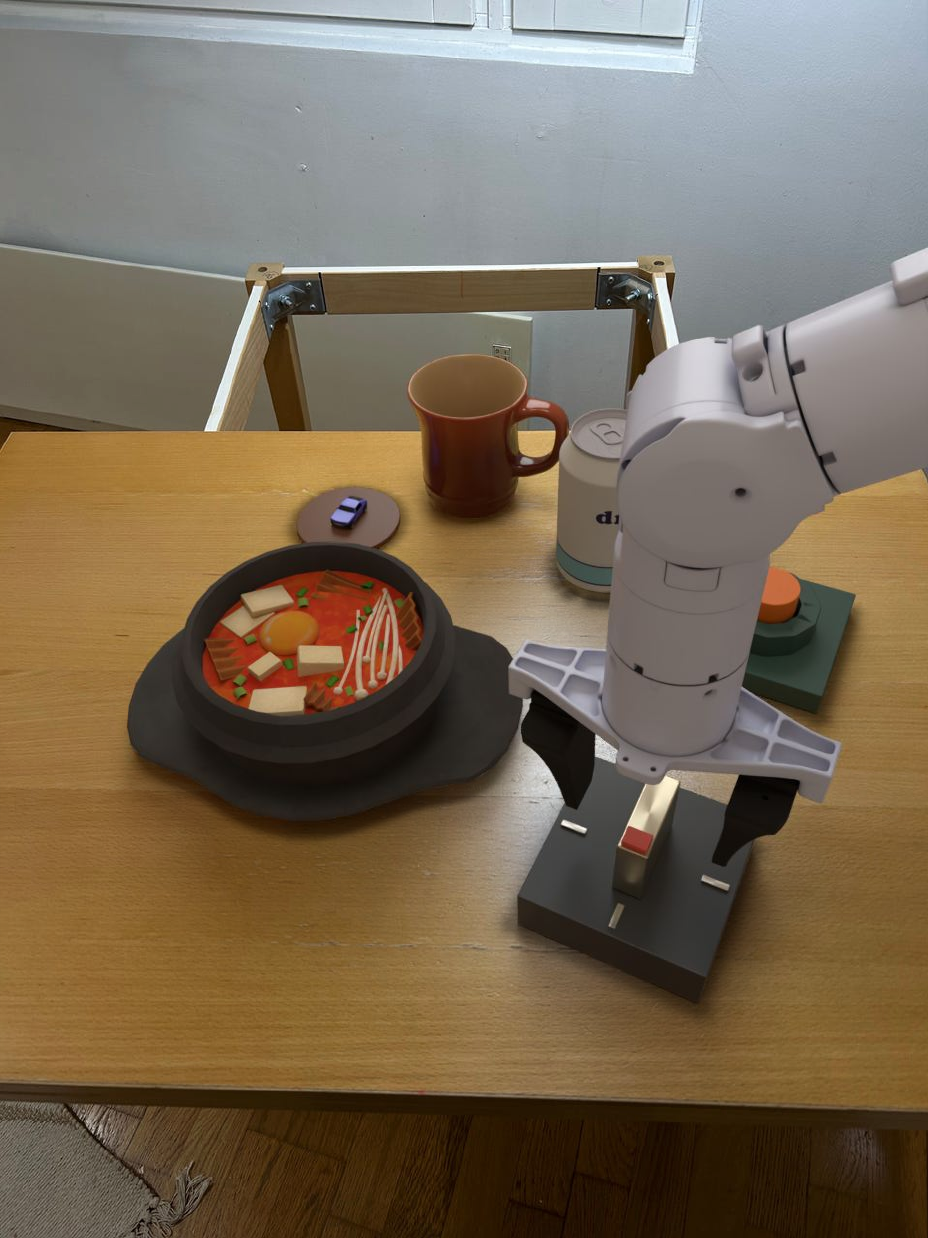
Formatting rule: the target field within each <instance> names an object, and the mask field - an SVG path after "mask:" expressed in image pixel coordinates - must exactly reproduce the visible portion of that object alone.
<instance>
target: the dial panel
mask: <svg viewBox="0 0 928 1238" xmlns="http://www.w3.org/2000/svg"><path fill="white" fill-rule="evenodd" d="M644 785H645V783H642V782H640V781H637V780H634V779H631V778H629V777H626V776H623V775H621V774H620V773H618V772H617V770H616V768H615V762H612V761H609V760H607V759H604V758H601V757H599V756H596V755H595V766H594V772H593V777H592V781H591V783H590V785H589V787H588V789H587V791H586V793H585V795H584V797H583V799H582V801H581V803H580V805H579V807H578V809H577V810H575V809H573V808H570V807H567V806H566V804H565V802H564V803H563V805H562V807H561V809H560V811H559V813H558V815H557V817H556V819H555V821H554V823H553V825H552V826H551V828H550V831H549V833H548V835H547V837H546V839H545V840H544V842H543V844H542V846H541V849H540V850H539V852H538V854H537V856H536V857H535V860H534V862H533V864H532V866H531V868H530V870H529V872H528V874H527V876H526V878H525V880H524V881H523V883H522V885H521V887H520V889H519V891H518V893H517V897H516V898H517V899H516V900H517V901H516V902H517V903H516V904H517V905H516V906H517V907H516V909H517V910H516V912H517V913H516V914H517V916H516V917H517V924H518V925H520V926H522V927H525V928H526V929H529V930H531V931H533V932H535V933H537V934H539V935H542V936H544V937H546V938H549V939H551V940H553V941H556V942H557V943H560V944H562V945H564V946H567V947H569V948H572V949H574V950H576V951H578V952H581V953H583V954H584V955H587V956H589V957H592V958H593V959H594V958H595V959H596V960H599V961H600V962H603V963H606V964H607V965H610V966H612V967H614V968H616V969H619V970H621V971H624V972H626V973H627V974H630V975H632V976H635V977H637V978H639V979H642V980H644V981H646V982H648V983H650V984H653V985H655V986H657V987H660V988H661V989H664V990H666V991H668V992H670V993H673V994H675V995H678V996H679V997H682V998H684V999H687V1000H689V1001H691V1002H694V1003H695V1004H699V1003H700V1001H701V999H702V995H703V993H704V990H705V987H706V984H707V981H708V978H709V976H710V973H711V970H712V966H713V964H714V961H715V958H716V955H717V952H718V950H719V947H720V943H721V941H722V938H723V934H724V932H725V930H726V928H727V927H726V926H727V923H728V921H729V918H730V915H731V912H732V909H733V906H734V903H735V900H736V897H737V894H738V892H739V888H740V885H741V883H742V879H743V877H744V874H745V871H746V868H747V865H748V864H749V860H750V857H751V854H752V851H753V848H754V845H755V841H756V839H754V840H752V841H750V842H749V843H747V844H746V845H744V846H743V847H742V848H741V849H739V850H738V851H737V852H736V853H735V854H734V855H733V856H732V857H731V859H730V860H729V861H728V863H727V866H725V867H722V866H720V865H717V864H714V863H712V857H713V854H714V851H715V848H716V846H717V843H718V840H719V838H720V835H721V832H722V830H723V826H724V818H725V816H724V815H725V811H726V808H727V805H728V804H726V803H724V802H721V801H718V800H715V799H713V798H710V797H708V796H704V795H702V794H699V793H696V792H694V791H691V790H688V789H685V788H683V787H680V788H679V793H678V798H677V803H676V808H675V814H674V819H673V824H672V826H671V829H670V831H669V834H668V836H667V838H666V841H665V843H664V845H663V848H662V850H661V853H660V855H659V857H658V860H657V862H656V864H655V867H654V869H653V872H652V874H651V876H650V879H649V881H648V884H647V886H646V888H645V891H644V893H643V895H642V898H641V899H639V898H637V897H634V896H632V895H629V894H627V893H625V892H622V891H620V890H617V889H615V888H613V887H612V881H613V873H614V865H615V857H616V849H617V844H618V842H619V840H620V838H621V835H622V833H623V831H624V829H625V827H626V825H627V822H628V820H629V818H630V816H631V814H632V811H633V809H634V807H635V805H636V803H637V800H638V798H639V796H640V794H641V792H642V789H643V787H644Z"/></svg>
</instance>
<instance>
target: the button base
mask: <svg viewBox="0 0 928 1238" xmlns="http://www.w3.org/2000/svg"><path fill="white" fill-rule="evenodd" d="M787 572H788V573H790V574H792V575H793V576H794V577H795V578H796V579H797V581H798V582H799V584H800V588H801V592H800V596H799V599H798V603H797V606H796V610H795V613H794V615H793V616H792V617H791V618H790V619H788V620H787V621H785V622H782V623H775V624H767V623H763V622H760V621H757V622H756V626H755V631H754V635H753V639H752V643H751V648H750V653H749V657H748V661H747V666H746V670H745V674H744V678H743V683H742V687H743V688H745V689H746V690H748V691H749V692H751V693H752V694H754V695H756V696H757V695H758V696H761V697H764V698H767V699H771V700H773V701H777V702H779V703H782V704H786V705H788V706H791V707H794V708H797V709H801V710H804V711H807V712H810V713H812V714H818V711H819V709H820V705H821V702H822V699H823V697H824V693H825V690H826V687H827V684H828V681H829V678H830V676H831V672H832V669H833V666H834V663H835V660H836V657H837V654H838V651H839V648H840V645H841V642H842V639H843V635H844V633H845V629H846V626H847V623H848V621H849V617H850V615H851V611H852V608H853V606H854V602H855V600H856V596H857V594H856V593H853V592H849V591H845V590H843V589H839V588H835V587H831V586H828V585H824V584H821V583H818V582H813V581H809V580H806V579H803V578H800V577H799V576H797V575H796V574H795V573H792V572H789V571H787Z"/></svg>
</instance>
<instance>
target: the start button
mask: <svg viewBox="0 0 928 1238" xmlns="http://www.w3.org/2000/svg"><path fill="white" fill-rule="evenodd" d="M788 572H789V571H786V570H784V569H781V568H778V567H772V566H770V567H769V571H768V576H767V580H766V584H765V588H764V592H763V597H762V601H761V605H760V609H759V614H758V618H757V621H760V622H763V623H767V624H775V623H782V622H785V621H787V620H788V619H790V618H791V617H792V616H793V615H794V613H795V610H796V606H797V603H798V599H799V596H800V592H801V588H800V584H799V582H798V581H797V579H796V578H795V577H794V576H793V575H792V574H790V573H791V572H789V573H788Z"/></svg>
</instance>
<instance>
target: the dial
mask: <svg viewBox="0 0 928 1238" xmlns="http://www.w3.org/2000/svg"><path fill="white" fill-rule="evenodd" d="M679 788H681V781H680V780H679V779H676V778H673V777H671V776H669V775H665V777H664V779H663V780H662V781H661V783H660V784H657V785H648V784H645V785H644V787H643V789H642V792H641V794H640V796H639V798H638V800H637V803H636V805H635V807H634V809H633V811H632V814H631V816H630V818H629V820H628V822H627V825H626V827H625V829H624V831H623V833H622V835H621V838H620V840H619V842H618V844H617V849H616V857H615V865H614V873H613V881H612V887H613V888H615V889H617V890H620V891H622V892H625V893H627V894H629V895H632V896H634V897H637V898H639V899H641V898H642V895H643V893H644V891H645V888H646V886H647V884H648V881H649V879H650V876H651V874H652V872H653V869H654V867H655V864H656V862H657V860H658V857H659V855H660V853H661V850H662V848H663V845H664V843H665V841H666V838H667V836H668V834H669V831H670V829H671V826H672V824H673V819H674V814H675V808H676V803H677V798H678V793H679Z"/></svg>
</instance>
